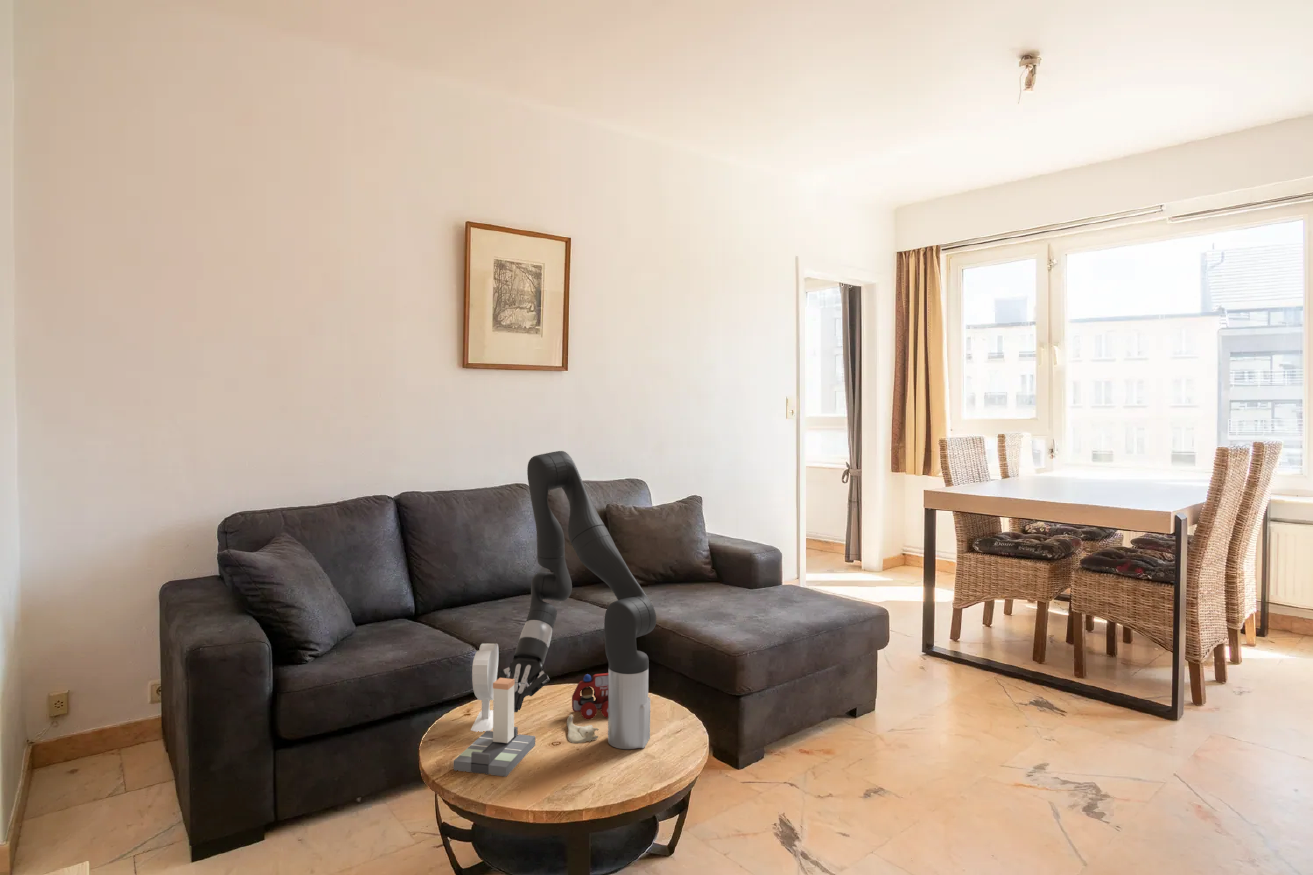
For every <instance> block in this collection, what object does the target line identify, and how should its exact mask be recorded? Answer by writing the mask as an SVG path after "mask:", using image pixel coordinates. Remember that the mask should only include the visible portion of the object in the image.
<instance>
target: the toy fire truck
mask: <svg viewBox="0 0 1313 875" xmlns="http://www.w3.org/2000/svg"><path fill="white" fill-rule="evenodd" d="M608 681H609V672H606V673H595V674H593V675H592V676H591V675H590V674H588V673H587V674H584V675H583V679H582V680H580V681H579V682H578V683H577V685H576V687H575V689H574V691H573V694H572V695H571V709H572V711H573V712H575V713H579V712H580V714H581V717H582V718H584V719H585V720H592V719H594V718H595V717H596V715H597V713H598V710H600V712H601V715H603V717H605V718H607V719H608Z"/></svg>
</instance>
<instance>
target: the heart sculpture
mask: <svg viewBox="0 0 1313 875" xmlns="http://www.w3.org/2000/svg"><path fill="white" fill-rule="evenodd" d="M499 654H500V653H499V644H498V643H481V644H480V646H479V650H476V652H475V654H474V657H473V660H472V668H471V669H472V672H471V674H472V676H471V679H472V680H471V681H472V690H473V693H474V696H475V697H476V698H477V700H478V701H481V711H479V713H478V714H477V717H476V718H475V720H474V722H473V724H472V726H471V728H470V731H473V732H478V731H479V732H478V733H484V732H483V731H485V732H486V731H493V709H490V708H491V705H490V704H491V701H493V683H494V682H495V681H496V680H498V673H499Z"/></svg>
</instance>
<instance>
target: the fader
mask: <svg viewBox="0 0 1313 875" xmlns="http://www.w3.org/2000/svg"><path fill="white" fill-rule="evenodd" d="M514 684H515V679H513V678H501V677H499V678H497V680H496V681H495V682H494V683H493V700H492V701H493V702H492V705H493V706H492V710H493V728H492V731H493V742H501V743H508V742H509V741H510V740H511V739H512V738H513V737H514V727H515V712H514Z"/></svg>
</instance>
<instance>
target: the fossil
mask: <svg viewBox="0 0 1313 875" xmlns="http://www.w3.org/2000/svg"><path fill="white" fill-rule="evenodd" d="M566 726H567V729H568V730H567V731H568V732H567V733H568V734H567V740H568V741H569V742H570V743H571V744H582V742H583V743H587V742H586V741H589V742H592V741H595V740H597V739H598V738H599V736H598V735H597V734H596V733H595V732H596V731H599V728H598V727H594V726H593V725H592V724H589V725H585V726H581V725H575V724H574V715H573V714H569V716H568V717H567V720H566ZM591 740H592V741H591Z"/></svg>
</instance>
